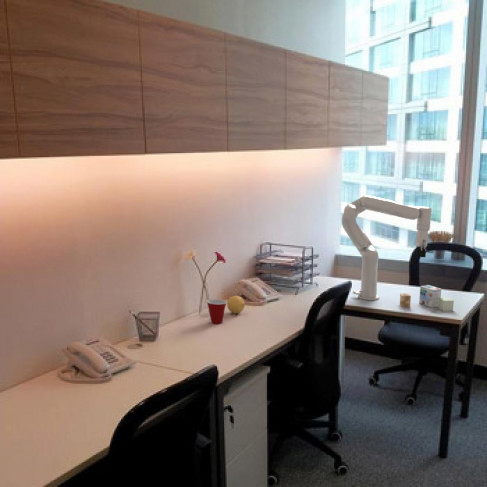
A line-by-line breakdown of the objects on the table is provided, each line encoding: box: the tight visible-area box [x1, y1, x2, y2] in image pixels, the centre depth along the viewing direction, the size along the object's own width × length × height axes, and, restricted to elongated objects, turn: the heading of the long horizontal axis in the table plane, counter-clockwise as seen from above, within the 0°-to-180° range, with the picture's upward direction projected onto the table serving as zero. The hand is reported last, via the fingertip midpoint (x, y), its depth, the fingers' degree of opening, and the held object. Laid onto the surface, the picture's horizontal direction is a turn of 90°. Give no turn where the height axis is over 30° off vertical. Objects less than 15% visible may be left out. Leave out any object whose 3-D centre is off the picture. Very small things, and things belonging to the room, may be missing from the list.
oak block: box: [399, 292, 412, 308], centre depth 303 cm, size 5×5×7 cm
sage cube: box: [437, 297, 455, 312], centre depth 297 cm, size 6×6×6 cm
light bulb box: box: [418, 284, 442, 308], centre depth 305 cm, size 11×7×11 cm, turn 25°
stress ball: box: [226, 295, 246, 315], centre depth 290 cm, size 10×10×10 cm
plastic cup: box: [206, 298, 228, 325], centre depth 274 cm, size 11×11×12 cm
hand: (420, 255), depth 312 cm, fingers open, 9 cm apart
